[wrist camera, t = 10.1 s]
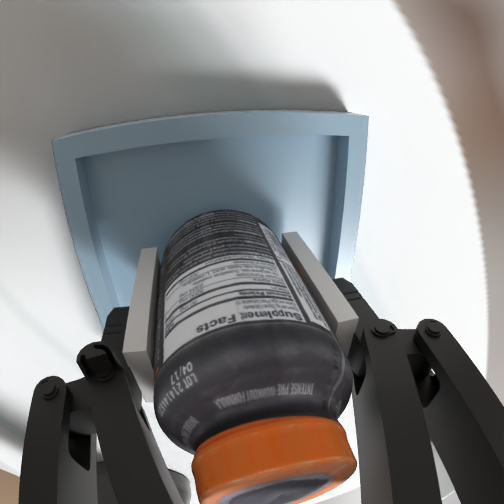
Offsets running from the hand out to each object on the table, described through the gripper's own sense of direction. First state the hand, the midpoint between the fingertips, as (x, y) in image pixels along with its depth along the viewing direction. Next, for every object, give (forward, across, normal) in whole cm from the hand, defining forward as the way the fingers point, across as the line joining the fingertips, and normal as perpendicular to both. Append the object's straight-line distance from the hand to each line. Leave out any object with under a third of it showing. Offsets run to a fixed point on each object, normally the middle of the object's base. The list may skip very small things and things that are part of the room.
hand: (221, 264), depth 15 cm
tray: (+2, 0, 0) cm, 2 cm away
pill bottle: (0, 0, 0) cm, 0 cm away
